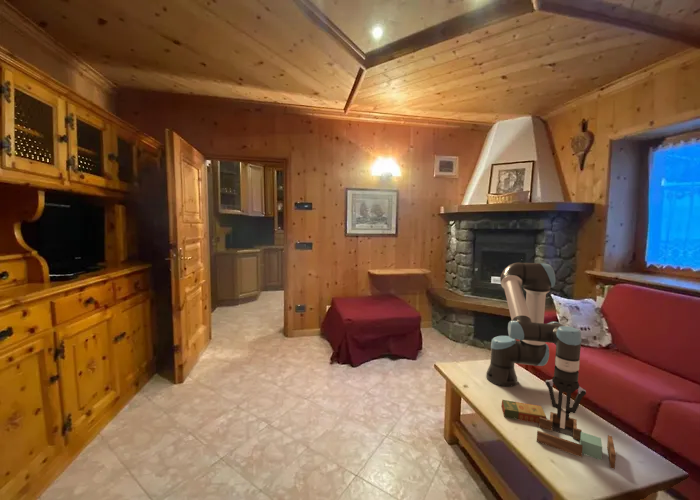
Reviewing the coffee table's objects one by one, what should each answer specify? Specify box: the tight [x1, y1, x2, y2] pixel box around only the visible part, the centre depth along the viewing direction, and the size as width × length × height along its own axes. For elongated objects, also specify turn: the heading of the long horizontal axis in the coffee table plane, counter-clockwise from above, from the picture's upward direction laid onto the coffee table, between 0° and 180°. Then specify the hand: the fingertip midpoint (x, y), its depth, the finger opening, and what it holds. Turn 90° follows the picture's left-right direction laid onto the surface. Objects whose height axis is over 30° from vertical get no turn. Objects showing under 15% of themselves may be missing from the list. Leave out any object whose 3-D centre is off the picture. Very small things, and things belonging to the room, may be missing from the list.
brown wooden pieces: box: [536, 411, 617, 470], centre depth 120 cm, size 19×23×5 cm
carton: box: [501, 399, 547, 424], centre depth 136 cm, size 8×16×4 cm, turn 71°
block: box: [579, 431, 603, 461], centre depth 114 cm, size 6×6×5 cm
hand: (562, 426), depth 120 cm, fingers closed
